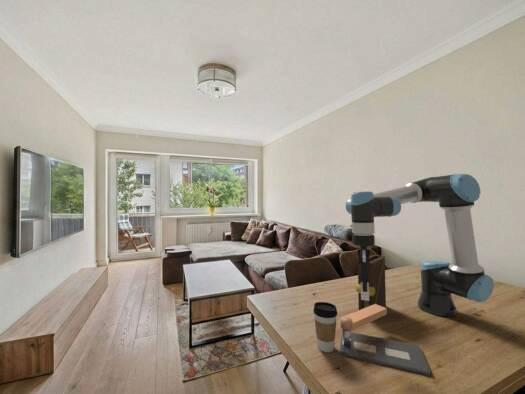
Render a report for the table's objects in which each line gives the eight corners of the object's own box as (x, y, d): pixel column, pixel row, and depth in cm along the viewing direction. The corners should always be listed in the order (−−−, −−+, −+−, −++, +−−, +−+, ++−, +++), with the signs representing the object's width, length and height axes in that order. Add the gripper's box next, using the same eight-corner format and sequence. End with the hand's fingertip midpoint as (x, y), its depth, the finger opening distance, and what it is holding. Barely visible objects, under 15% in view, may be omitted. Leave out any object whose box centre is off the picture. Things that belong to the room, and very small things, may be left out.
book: (371, 301, 122) (370, 254, 123) (389, 306, 116) (388, 256, 117) (353, 316, 107) (352, 261, 107) (372, 322, 101) (371, 265, 101)
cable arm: (375, 309, 98) (375, 302, 98) (386, 314, 94) (386, 307, 94) (337, 325, 85) (336, 318, 85) (348, 332, 81) (348, 323, 81)
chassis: (419, 348, 82) (418, 330, 83) (430, 375, 70) (429, 353, 70) (342, 333, 92) (342, 316, 93) (339, 354, 80) (339, 335, 80)
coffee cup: (310, 340, 88) (310, 300, 88) (332, 339, 88) (331, 299, 89) (318, 355, 79) (317, 311, 80) (341, 353, 80) (341, 309, 80)
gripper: (352, 231, 92) (354, 291, 91) (351, 236, 80) (353, 305, 79) (373, 232, 89) (375, 294, 88) (375, 236, 77) (378, 308, 76)
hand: (365, 299), depth 83 cm, fingers closed
